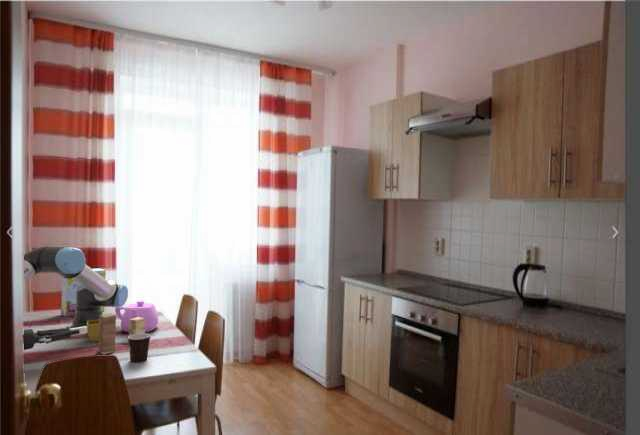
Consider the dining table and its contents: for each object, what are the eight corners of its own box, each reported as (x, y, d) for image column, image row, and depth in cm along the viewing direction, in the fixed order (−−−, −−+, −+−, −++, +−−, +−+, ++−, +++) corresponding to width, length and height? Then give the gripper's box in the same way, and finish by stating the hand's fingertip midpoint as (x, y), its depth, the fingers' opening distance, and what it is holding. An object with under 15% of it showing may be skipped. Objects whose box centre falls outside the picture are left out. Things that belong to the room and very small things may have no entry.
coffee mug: (131, 356, 181) (132, 333, 181) (152, 356, 182) (153, 333, 182) (121, 366, 170) (121, 341, 170) (143, 366, 170) (144, 341, 170)
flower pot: (86, 344, 196) (86, 324, 196) (87, 338, 204) (87, 320, 204) (107, 341, 200) (108, 322, 200) (107, 336, 208) (107, 318, 208)
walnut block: (98, 351, 187) (99, 315, 186) (110, 348, 190) (111, 313, 190) (103, 354, 183) (103, 317, 183) (115, 351, 187) (115, 315, 187)
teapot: (119, 326, 227) (120, 298, 227) (160, 325, 230) (161, 297, 230) (105, 338, 205) (105, 307, 204) (150, 337, 208) (151, 307, 208)
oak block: (128, 339, 204) (129, 319, 204) (137, 337, 208) (137, 317, 208) (136, 341, 202) (136, 320, 201) (144, 338, 206) (145, 318, 206)
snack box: (66, 317, 240) (67, 272, 240) (60, 315, 246) (61, 270, 246) (105, 311, 257) (106, 269, 257) (98, 309, 263) (99, 267, 262)
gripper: (15, 346, 167) (80, 335, 185) (24, 354, 158) (92, 341, 176) (16, 327, 167) (81, 317, 185) (25, 334, 158) (92, 323, 176)
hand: (86, 329), depth 180 cm, fingers closed
